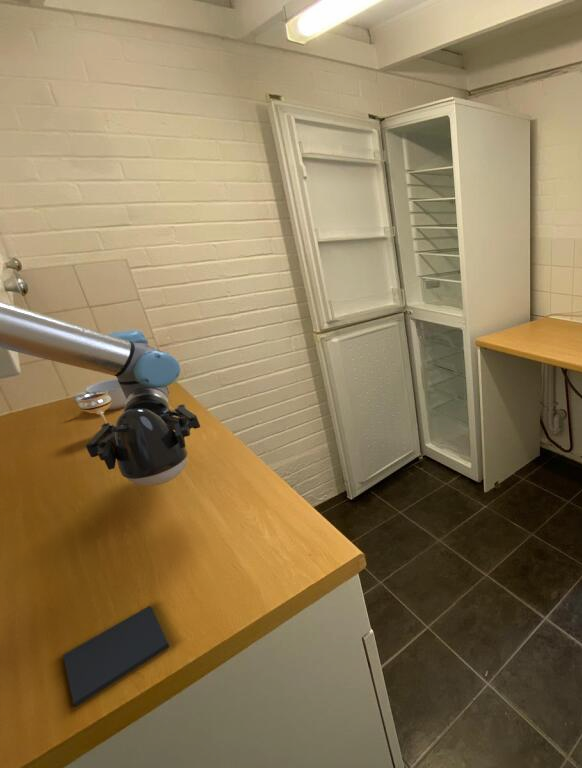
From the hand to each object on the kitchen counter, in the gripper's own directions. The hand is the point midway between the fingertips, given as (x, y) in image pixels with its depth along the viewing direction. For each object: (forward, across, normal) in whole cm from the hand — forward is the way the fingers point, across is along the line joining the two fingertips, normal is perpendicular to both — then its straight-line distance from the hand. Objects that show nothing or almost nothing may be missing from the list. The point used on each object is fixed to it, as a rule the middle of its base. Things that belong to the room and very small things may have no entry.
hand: (145, 451), depth 76 cm
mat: (+26, +8, -18) cm, 33 cm away
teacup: (-85, +15, -18) cm, 88 cm away
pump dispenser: (-4, 0, -8) cm, 10 cm away
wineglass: (-63, +14, -18) cm, 67 cm away
